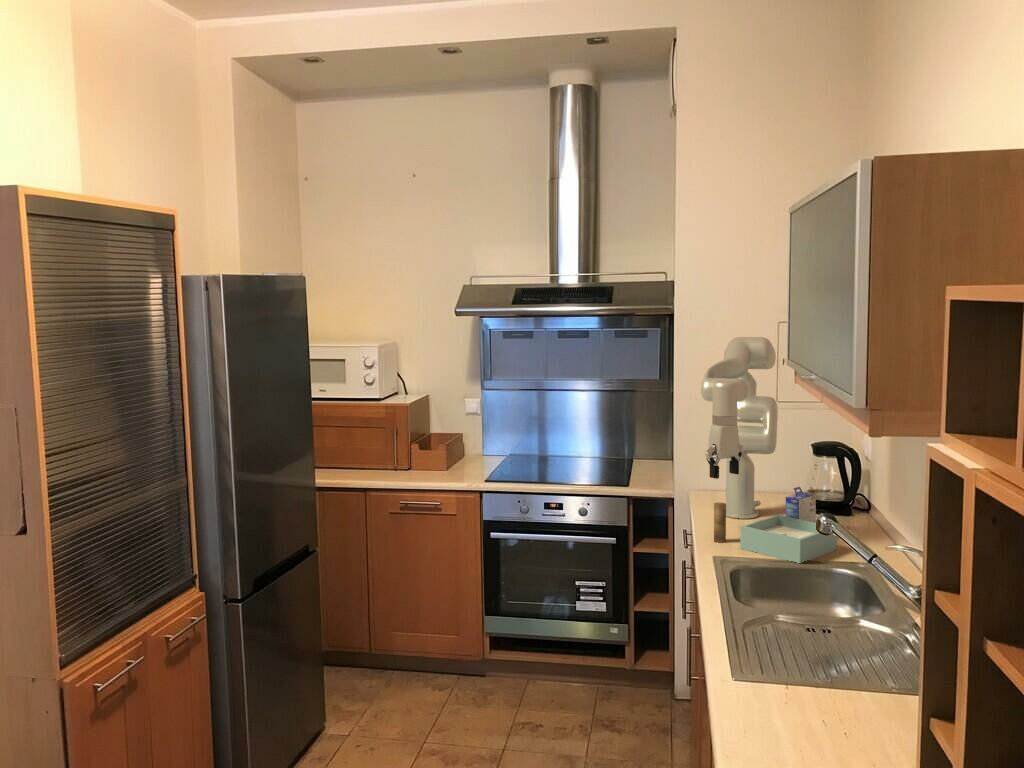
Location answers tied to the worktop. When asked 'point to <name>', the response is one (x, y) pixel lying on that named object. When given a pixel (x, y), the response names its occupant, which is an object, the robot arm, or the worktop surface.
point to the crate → (786, 539)
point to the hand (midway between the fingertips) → (724, 475)
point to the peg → (720, 522)
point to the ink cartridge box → (801, 506)
